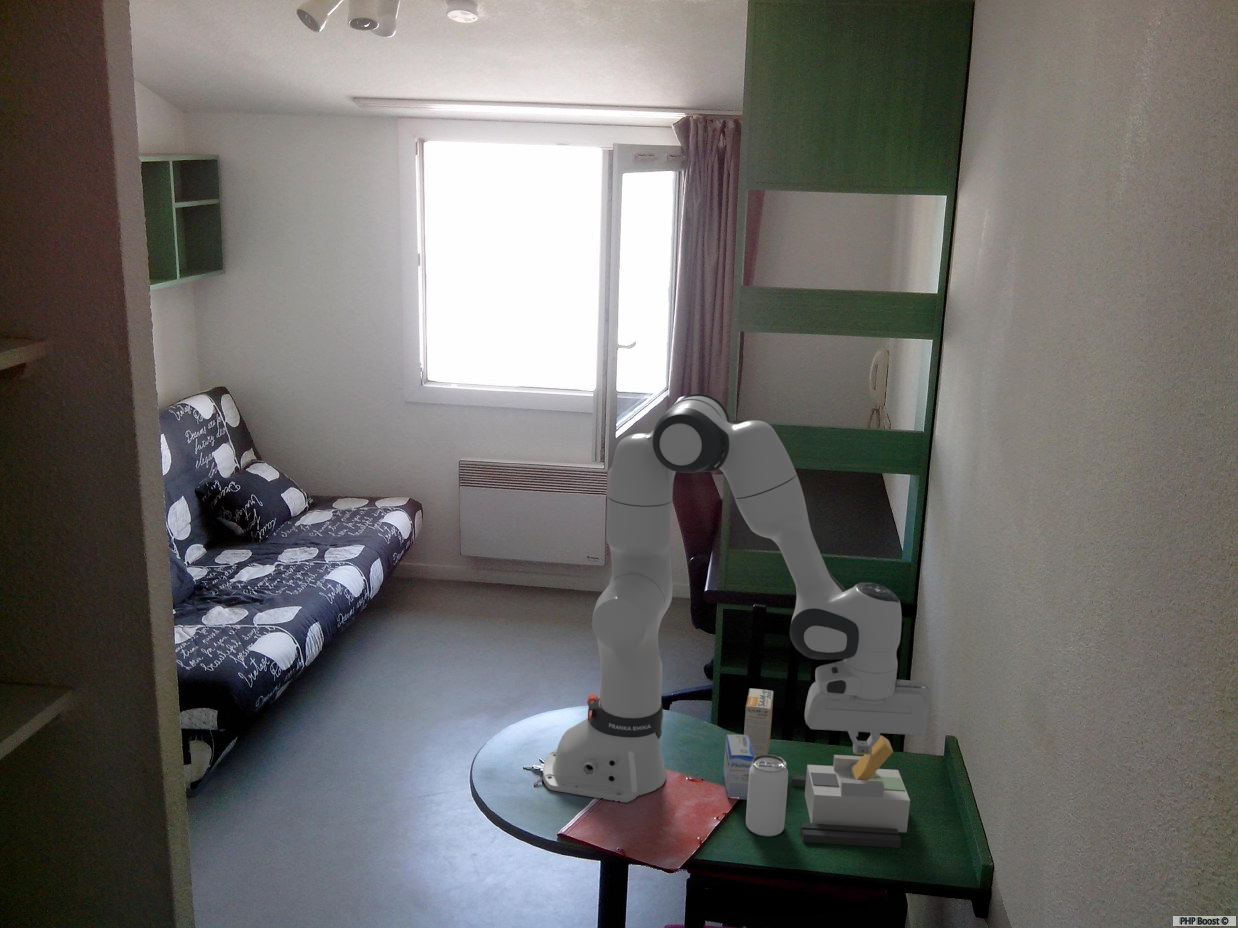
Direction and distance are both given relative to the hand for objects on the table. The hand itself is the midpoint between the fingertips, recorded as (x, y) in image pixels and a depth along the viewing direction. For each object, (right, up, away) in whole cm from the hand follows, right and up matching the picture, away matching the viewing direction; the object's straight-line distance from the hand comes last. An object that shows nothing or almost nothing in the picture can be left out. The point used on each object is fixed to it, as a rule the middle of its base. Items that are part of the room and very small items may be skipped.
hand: (861, 752), depth 180 cm
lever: (0, -4, +1) cm, 5 cm away
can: (-17, -12, -2) cm, 21 cm away
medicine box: (-20, -9, +10) cm, 24 cm away
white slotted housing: (-1, -11, +3) cm, 12 cm away
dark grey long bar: (-2, -9, +11) cm, 15 cm away
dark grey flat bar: (-3, -13, -4) cm, 14 cm away
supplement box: (-16, -7, +19) cm, 26 cm away
